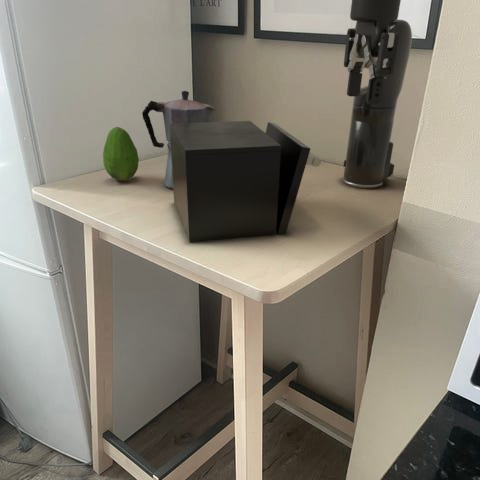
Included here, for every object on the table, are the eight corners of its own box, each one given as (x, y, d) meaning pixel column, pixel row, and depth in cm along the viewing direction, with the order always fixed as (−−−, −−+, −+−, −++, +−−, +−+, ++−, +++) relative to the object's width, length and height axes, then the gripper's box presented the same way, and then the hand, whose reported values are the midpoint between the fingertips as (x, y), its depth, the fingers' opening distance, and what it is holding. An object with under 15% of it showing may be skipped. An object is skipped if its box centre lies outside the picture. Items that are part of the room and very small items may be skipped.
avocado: (123, 187, 112) (117, 132, 105) (99, 181, 116) (91, 127, 109) (147, 179, 118) (143, 125, 111) (123, 173, 121) (117, 121, 115)
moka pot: (220, 190, 112) (219, 93, 101) (152, 195, 108) (143, 95, 97) (210, 177, 119) (209, 86, 108) (146, 182, 116) (137, 88, 105)
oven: (248, 199, 107) (250, 120, 98) (276, 235, 91) (281, 145, 82) (174, 204, 104) (169, 123, 95) (189, 243, 87) (185, 150, 79)
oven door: (272, 201, 109) (292, 127, 101) (304, 237, 92) (330, 152, 85) (249, 197, 107) (267, 121, 99) (277, 233, 91) (302, 146, 83)
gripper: (424, -15, 72) (402, 106, 81) (378, -14, 84) (363, 92, 93) (377, -16, 71) (360, 108, 80) (337, -15, 82) (326, 93, 91)
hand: (362, 99), depth 86 cm, fingers open, 7 cm apart
